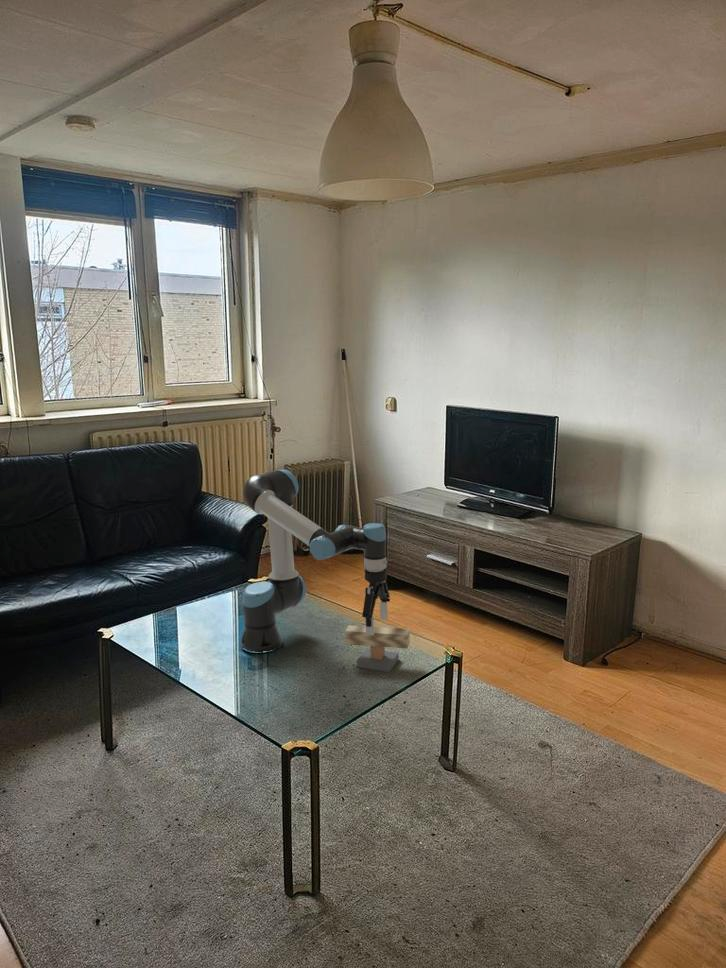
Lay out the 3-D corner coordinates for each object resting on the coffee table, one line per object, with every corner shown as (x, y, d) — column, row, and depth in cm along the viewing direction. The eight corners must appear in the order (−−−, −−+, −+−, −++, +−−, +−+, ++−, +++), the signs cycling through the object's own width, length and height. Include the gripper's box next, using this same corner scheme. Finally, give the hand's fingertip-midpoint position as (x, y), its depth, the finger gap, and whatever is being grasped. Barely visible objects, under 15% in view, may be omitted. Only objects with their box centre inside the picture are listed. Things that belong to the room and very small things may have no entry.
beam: (409, 642, 240) (409, 629, 239) (407, 648, 235) (407, 635, 234) (348, 638, 245) (348, 625, 244) (345, 644, 240) (344, 631, 239)
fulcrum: (356, 666, 239) (356, 646, 238) (367, 654, 248) (366, 635, 247) (389, 672, 235) (388, 651, 233) (398, 659, 244) (398, 639, 242)
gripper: (372, 581, 222) (374, 642, 226) (397, 558, 245) (398, 614, 249) (351, 579, 225) (353, 639, 229) (378, 556, 247) (379, 612, 252)
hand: (377, 626), depth 239 cm, fingers open, 13 cm apart
